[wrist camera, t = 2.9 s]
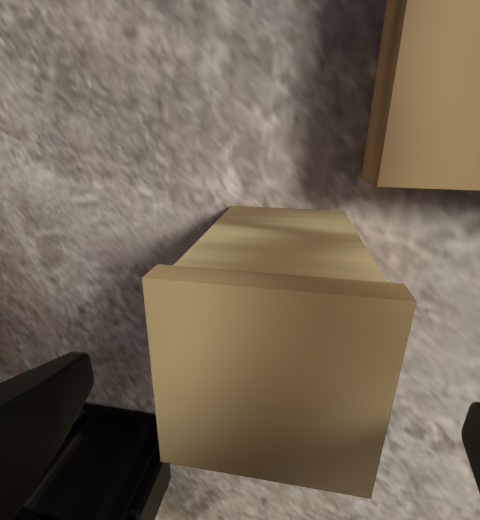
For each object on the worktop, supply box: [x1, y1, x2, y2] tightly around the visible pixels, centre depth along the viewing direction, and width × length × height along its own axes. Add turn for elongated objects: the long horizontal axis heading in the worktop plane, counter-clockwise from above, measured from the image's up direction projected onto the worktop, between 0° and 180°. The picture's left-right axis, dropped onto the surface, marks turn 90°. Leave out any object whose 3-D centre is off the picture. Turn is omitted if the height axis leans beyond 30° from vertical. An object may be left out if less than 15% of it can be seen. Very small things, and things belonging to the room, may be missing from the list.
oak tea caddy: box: [142, 206, 416, 499], centre depth 11 cm, size 5×5×9 cm
